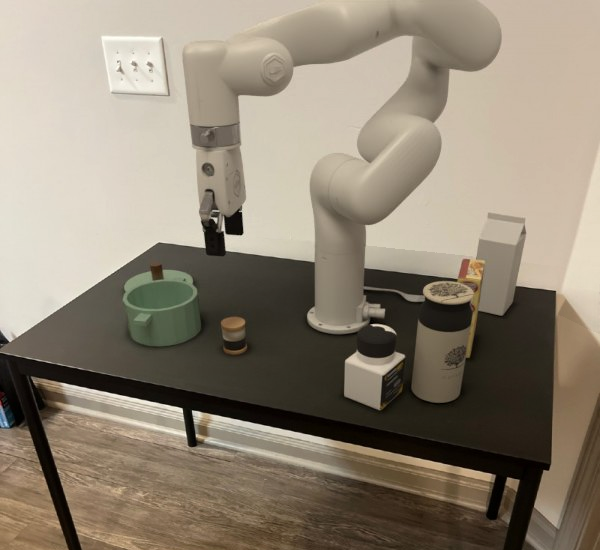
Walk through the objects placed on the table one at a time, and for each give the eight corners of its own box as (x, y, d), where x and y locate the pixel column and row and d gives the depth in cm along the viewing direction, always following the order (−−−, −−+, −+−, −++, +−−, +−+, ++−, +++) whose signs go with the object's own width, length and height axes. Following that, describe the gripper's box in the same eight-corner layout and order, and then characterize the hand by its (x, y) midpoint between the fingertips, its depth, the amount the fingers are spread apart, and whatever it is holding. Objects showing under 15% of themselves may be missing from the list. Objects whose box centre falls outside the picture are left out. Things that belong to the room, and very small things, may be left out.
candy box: (470, 359, 109) (483, 279, 100) (446, 356, 110) (457, 276, 101) (474, 336, 116) (486, 259, 107) (451, 333, 117) (462, 257, 108)
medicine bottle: (380, 412, 96) (385, 346, 89) (343, 397, 100) (344, 332, 93) (402, 391, 101) (408, 327, 94) (366, 378, 104) (369, 315, 97)
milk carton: (502, 316, 122) (520, 223, 111) (468, 309, 125) (482, 217, 114) (512, 303, 127) (530, 213, 116) (479, 296, 130) (493, 207, 119)
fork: (337, 281, 137) (337, 274, 136) (442, 301, 128) (443, 293, 127) (331, 286, 135) (331, 279, 134) (437, 307, 126) (438, 299, 125)
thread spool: (250, 344, 115) (248, 317, 111) (243, 356, 111) (241, 329, 108) (227, 342, 115) (225, 315, 112) (220, 353, 112) (217, 326, 109)
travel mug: (403, 381, 103) (413, 283, 93) (447, 374, 105) (461, 277, 94) (422, 407, 97) (434, 305, 86) (468, 400, 98) (485, 298, 88)
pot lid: (203, 277, 141) (200, 253, 138) (178, 305, 129) (174, 280, 125) (142, 272, 144) (138, 248, 140) (113, 299, 132) (107, 274, 128)
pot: (215, 310, 127) (211, 276, 122) (180, 357, 111) (175, 320, 107) (153, 304, 129) (147, 271, 125) (110, 349, 114) (102, 313, 109)
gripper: (221, 149, 84) (231, 265, 94) (255, 124, 98) (261, 228, 108) (170, 147, 86) (185, 262, 95) (211, 123, 99) (221, 226, 109)
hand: (225, 244), depth 102 cm, fingers open, 9 cm apart
